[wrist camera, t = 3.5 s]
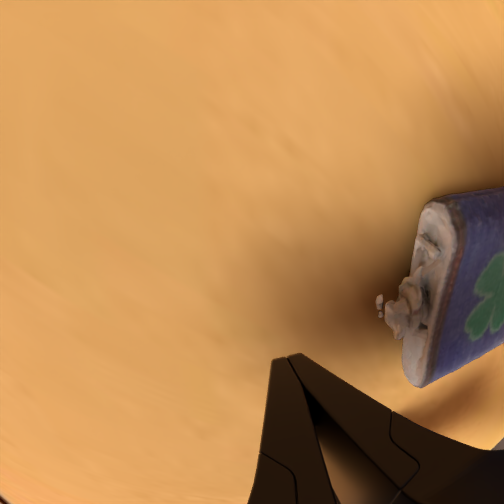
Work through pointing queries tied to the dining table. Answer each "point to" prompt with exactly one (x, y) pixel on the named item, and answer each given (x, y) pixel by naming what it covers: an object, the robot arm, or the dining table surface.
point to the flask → (451, 286)
